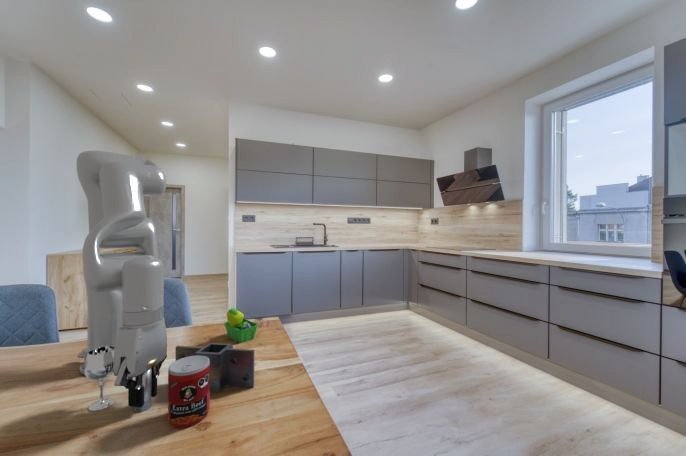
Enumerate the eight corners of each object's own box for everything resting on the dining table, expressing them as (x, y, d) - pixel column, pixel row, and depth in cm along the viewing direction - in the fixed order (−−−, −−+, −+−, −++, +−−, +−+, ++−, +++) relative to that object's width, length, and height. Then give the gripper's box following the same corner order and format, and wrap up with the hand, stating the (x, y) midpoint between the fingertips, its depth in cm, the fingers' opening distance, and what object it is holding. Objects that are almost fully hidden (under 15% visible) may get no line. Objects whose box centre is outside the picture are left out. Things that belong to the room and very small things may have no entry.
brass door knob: (122, 414, 62) (122, 364, 62) (141, 400, 67) (141, 353, 67) (144, 416, 61) (144, 365, 61) (162, 401, 66) (163, 355, 66)
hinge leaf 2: (194, 390, 71) (194, 353, 71) (209, 377, 78) (209, 342, 78) (247, 394, 70) (248, 356, 70) (258, 380, 76) (258, 345, 76)
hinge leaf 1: (232, 378, 77) (232, 343, 77) (219, 392, 70) (219, 354, 70) (184, 375, 78) (184, 341, 78) (167, 388, 72) (167, 351, 72)
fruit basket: (259, 338, 104) (259, 306, 104) (236, 346, 98) (236, 312, 98) (242, 331, 112) (242, 301, 112) (219, 337, 105) (219, 306, 105)
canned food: (165, 433, 56) (165, 375, 56) (170, 409, 64) (171, 358, 64) (209, 422, 59) (209, 368, 59) (209, 401, 67) (210, 352, 67)
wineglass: (90, 416, 61) (90, 358, 61) (80, 407, 64) (80, 352, 64) (122, 402, 66) (122, 348, 66) (111, 394, 69) (111, 343, 69)
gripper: (155, 305, 73) (155, 380, 73) (91, 328, 56) (91, 424, 57) (184, 306, 72) (183, 382, 72) (127, 330, 56) (127, 427, 56)
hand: (143, 400), depth 64 cm, fingers closed on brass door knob, 3 cm apart
